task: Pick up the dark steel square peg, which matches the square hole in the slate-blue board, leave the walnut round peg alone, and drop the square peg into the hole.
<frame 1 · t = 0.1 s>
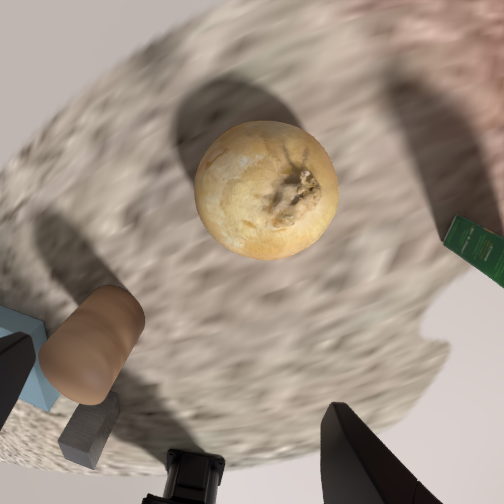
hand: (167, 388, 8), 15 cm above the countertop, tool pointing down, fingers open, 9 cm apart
round peg: (115, 314, 24), on the countertop
socket board: (10, 344, 26), on the countertop
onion: (265, 183, 21), on the countertop
coffee box: (477, 247, 22), on the countertop
square peg: (105, 399, 28), on the countertop
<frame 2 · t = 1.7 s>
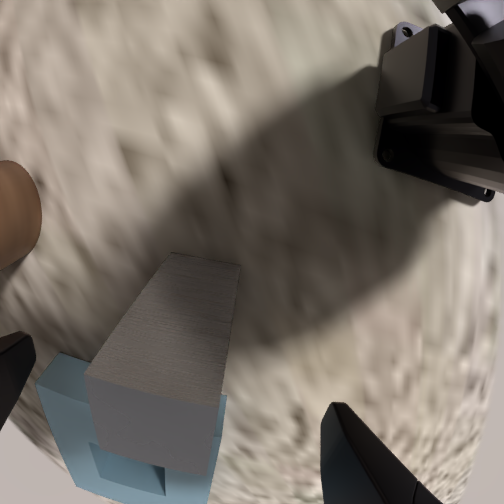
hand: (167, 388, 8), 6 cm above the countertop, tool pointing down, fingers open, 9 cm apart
round peg: (7, 210, 13), on the countertop
socket board: (140, 438, 18), on the countertop
square peg: (201, 290, 14), on the countertop
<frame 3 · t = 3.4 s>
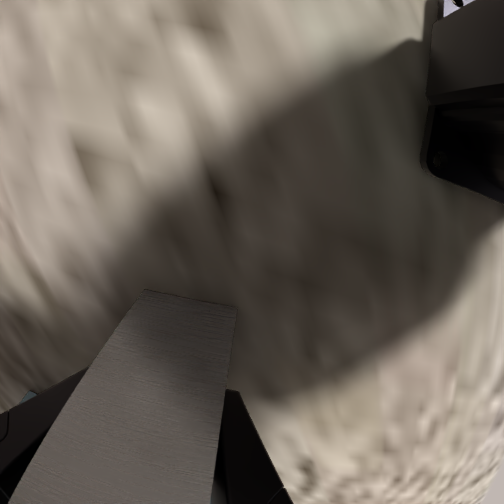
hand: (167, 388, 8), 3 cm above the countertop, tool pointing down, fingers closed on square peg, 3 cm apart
square peg: (185, 337, 10), on the countertop, touching gripper
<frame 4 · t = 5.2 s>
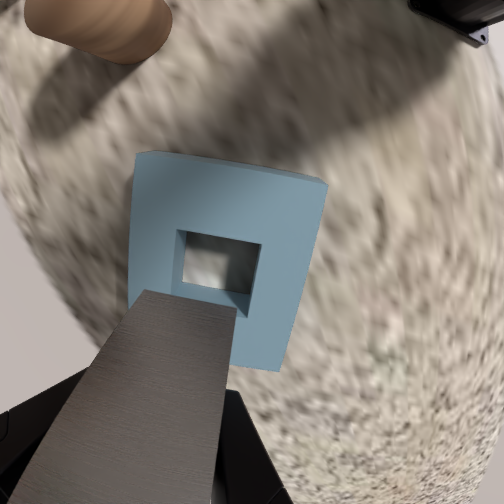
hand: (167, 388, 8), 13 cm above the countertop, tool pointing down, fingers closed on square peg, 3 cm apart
round peg: (133, 28, 16), on the countertop
socket board: (220, 256, 21), on the countertop
square peg: (185, 337, 10), point 10 cm above the countertop, touching gripper
when the fingers open (4 cm above the countertop, at t = 7.1 s): square peg drops 1 cm, resting in socket board.
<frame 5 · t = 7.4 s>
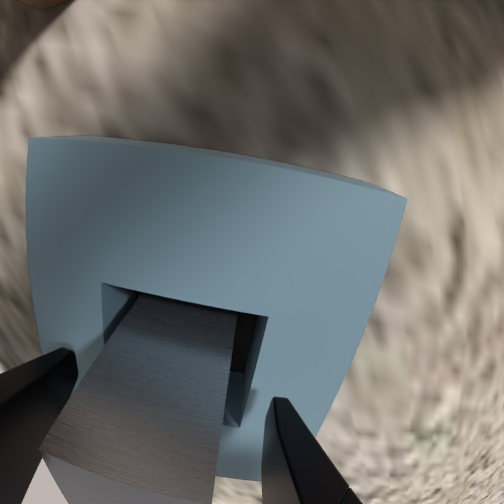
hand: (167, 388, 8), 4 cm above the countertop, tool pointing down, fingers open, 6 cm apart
socket board: (193, 316, 12), on the countertop
square peg: (194, 315, 12), resting in socket board
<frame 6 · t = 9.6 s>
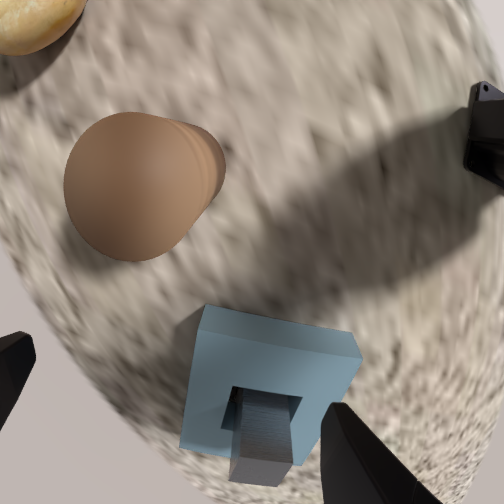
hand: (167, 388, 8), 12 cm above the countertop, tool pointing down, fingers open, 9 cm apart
round peg: (180, 168, 18), on the countertop
socket board: (259, 385, 23), on the countertop
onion: (57, 11, 14), on the countertop
square peg: (260, 385, 23), resting in socket board
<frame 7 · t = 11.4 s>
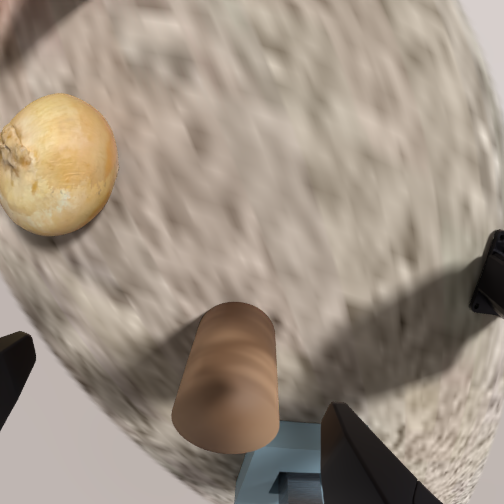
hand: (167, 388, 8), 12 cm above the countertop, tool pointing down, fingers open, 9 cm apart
round peg: (236, 335, 21), on the countertop
socket board: (296, 460, 26), on the countertop
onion: (79, 160, 18), on the countertop
square peg: (296, 459, 26), resting in socket board
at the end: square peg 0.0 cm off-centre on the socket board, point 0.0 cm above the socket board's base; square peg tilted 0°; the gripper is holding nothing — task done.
